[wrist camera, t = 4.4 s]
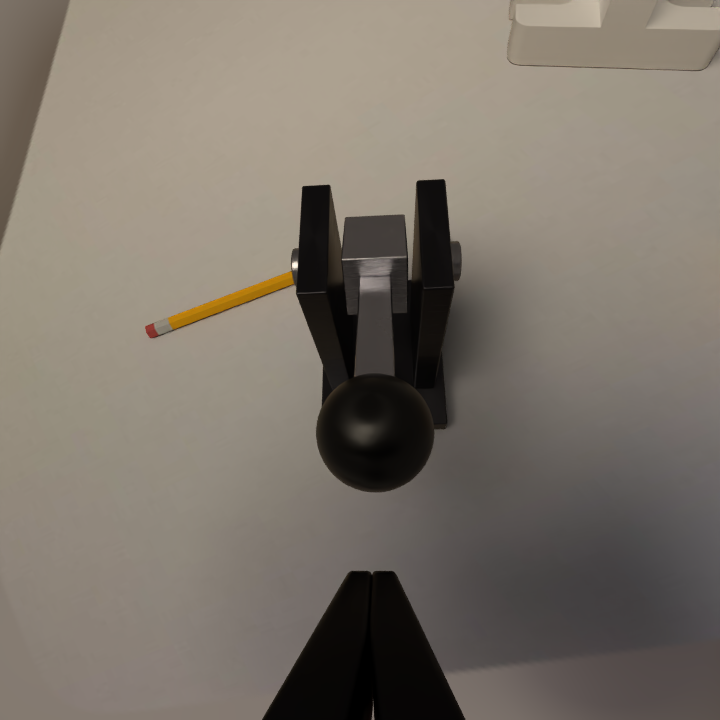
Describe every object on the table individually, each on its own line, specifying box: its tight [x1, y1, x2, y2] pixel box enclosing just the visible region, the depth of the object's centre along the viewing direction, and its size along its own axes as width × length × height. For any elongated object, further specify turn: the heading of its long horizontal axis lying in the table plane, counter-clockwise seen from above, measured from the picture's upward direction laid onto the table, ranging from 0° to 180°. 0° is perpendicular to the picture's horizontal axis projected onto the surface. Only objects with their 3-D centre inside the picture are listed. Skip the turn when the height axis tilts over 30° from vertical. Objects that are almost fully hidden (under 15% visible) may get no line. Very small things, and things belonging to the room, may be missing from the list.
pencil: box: [145, 271, 294, 338], centre depth 27 cm, size 1×13×1 cm, turn 112°
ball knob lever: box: [316, 215, 434, 492], centre depth 15 cm, size 10×3×3 cm, turn 0°
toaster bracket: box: [291, 179, 462, 429], centre depth 21 cm, size 8×6×10 cm
